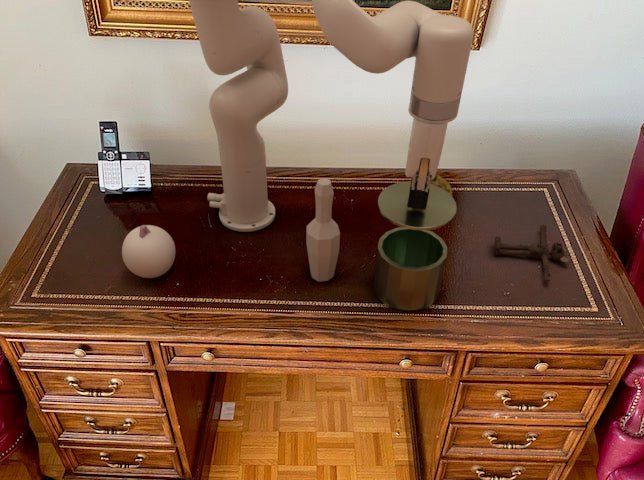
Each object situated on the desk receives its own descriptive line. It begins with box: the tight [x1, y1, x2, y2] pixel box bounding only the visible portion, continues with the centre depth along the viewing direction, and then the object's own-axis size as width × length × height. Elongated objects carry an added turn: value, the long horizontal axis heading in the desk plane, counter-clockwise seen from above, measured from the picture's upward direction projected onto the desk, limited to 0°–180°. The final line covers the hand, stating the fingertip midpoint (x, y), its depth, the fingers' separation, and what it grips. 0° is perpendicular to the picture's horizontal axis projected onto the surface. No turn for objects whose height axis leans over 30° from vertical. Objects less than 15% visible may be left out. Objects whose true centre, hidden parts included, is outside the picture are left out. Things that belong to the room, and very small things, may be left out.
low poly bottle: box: [305, 177, 341, 282], centre depth 120 cm, size 6×6×22 cm
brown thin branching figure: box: [493, 224, 570, 283], centre depth 129 cm, size 18×4×14 cm
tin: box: [373, 226, 448, 312], centre depth 120 cm, size 13×13×10 cm
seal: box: [430, 167, 454, 198], centre depth 145 cm, size 9×5×15 cm
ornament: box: [121, 224, 176, 279], centre depth 125 cm, size 10×10×12 cm
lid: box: [377, 176, 458, 231], centre depth 108 cm, size 14×14×7 cm
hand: (417, 200), depth 109 cm, fingers closed on lid, 3 cm apart
